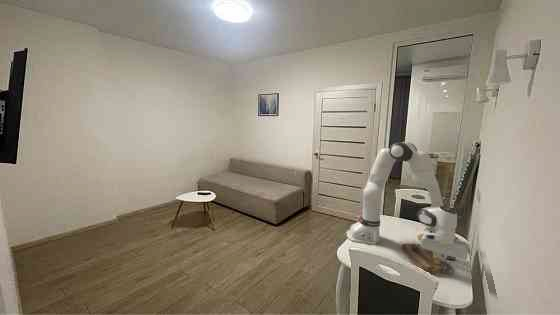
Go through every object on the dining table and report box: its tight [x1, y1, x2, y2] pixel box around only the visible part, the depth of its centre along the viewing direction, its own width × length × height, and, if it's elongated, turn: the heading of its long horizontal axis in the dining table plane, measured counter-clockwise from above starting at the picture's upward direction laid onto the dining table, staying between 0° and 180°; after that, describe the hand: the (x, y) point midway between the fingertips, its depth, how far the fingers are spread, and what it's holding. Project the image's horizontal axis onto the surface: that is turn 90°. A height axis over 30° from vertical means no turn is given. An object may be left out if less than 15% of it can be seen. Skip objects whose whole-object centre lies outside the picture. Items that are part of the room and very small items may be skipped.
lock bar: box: [431, 251, 440, 265], centre depth 119 cm, size 13×3×3 cm, turn 148°
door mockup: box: [401, 243, 455, 276], centre depth 123 cm, size 16×22×6 cm
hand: (441, 260), depth 116 cm, fingers closed
